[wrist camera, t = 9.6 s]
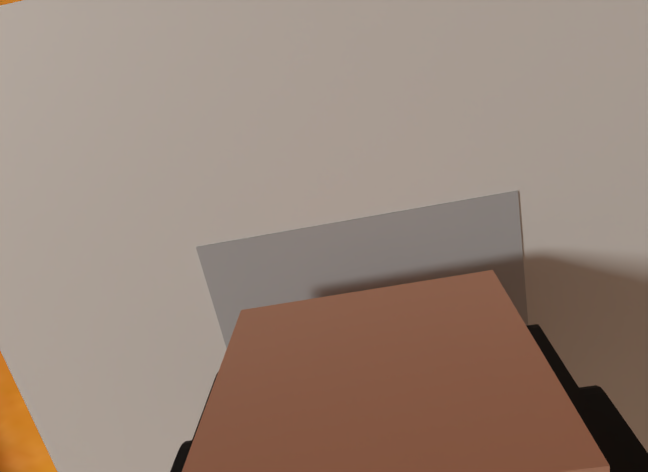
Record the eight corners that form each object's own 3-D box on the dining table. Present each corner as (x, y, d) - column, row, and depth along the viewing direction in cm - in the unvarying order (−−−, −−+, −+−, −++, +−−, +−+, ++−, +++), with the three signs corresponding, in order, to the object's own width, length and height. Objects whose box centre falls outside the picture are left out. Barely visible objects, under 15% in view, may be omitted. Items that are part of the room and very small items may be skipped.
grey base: (717, -138, 12) (837, -189, 9) (689, 495, 18) (753, 583, 15) (-46, 36, 14) (-149, 39, 11) (167, 555, 20) (137, 644, 17)
